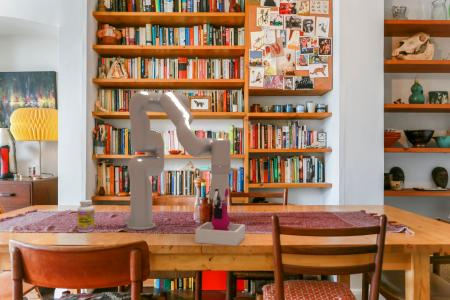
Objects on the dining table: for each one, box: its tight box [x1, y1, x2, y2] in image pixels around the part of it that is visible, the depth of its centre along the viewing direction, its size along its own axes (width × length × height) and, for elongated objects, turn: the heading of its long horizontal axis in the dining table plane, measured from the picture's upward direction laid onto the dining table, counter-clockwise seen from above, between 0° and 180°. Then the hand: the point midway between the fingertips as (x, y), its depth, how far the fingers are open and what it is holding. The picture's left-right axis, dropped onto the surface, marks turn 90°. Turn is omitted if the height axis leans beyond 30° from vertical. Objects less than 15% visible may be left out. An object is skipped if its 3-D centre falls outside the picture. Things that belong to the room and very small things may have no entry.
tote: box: [194, 221, 246, 247], centre depth 140 cm, size 16×13×5 cm
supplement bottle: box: [77, 199, 95, 233], centre depth 153 cm, size 7×7×13 cm
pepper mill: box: [210, 189, 231, 231], centre depth 139 cm, size 7×7×20 cm
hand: (220, 216), depth 140 cm, fingers closed on pepper mill, 5 cm apart
